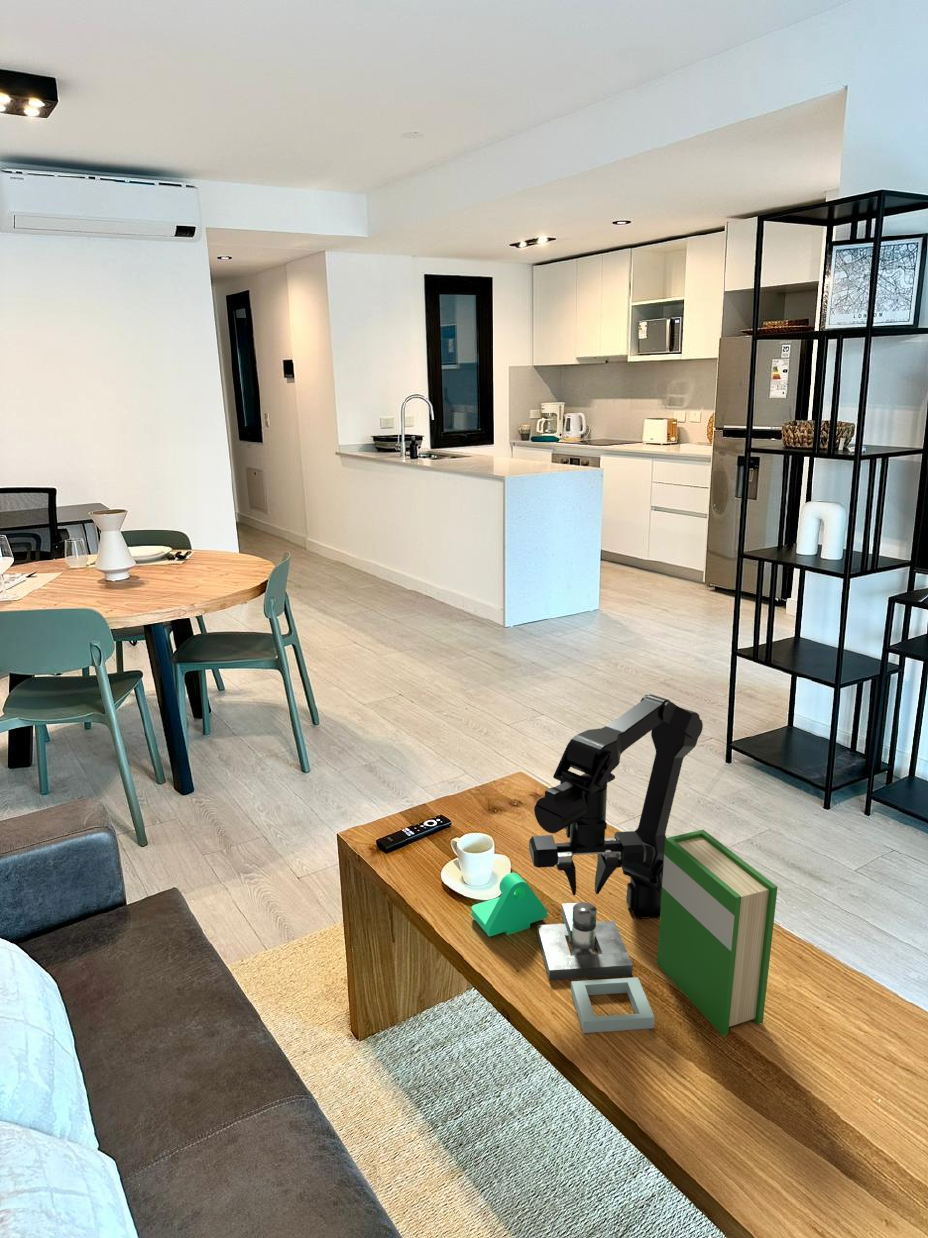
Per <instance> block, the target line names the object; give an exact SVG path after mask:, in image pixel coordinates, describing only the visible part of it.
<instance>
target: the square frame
mask: <svg viewBox="0 0 928 1238" xmlns="http://www.w3.org/2000/svg"><path fill="white" fill-rule="evenodd" d="M570 993H571V997H572V1000H573V1003H574V1007H575V1011H576V1014H577V1016H578V1017H577V1018H578V1021H579V1023H580V1027H581V1030H582V1033H583V1034H588V1033H589V1034H590V1033H605V1032H615V1031H616V1032H619V1031H633V1030H635V1031H636V1030H646V1029H655V1019H656V1018H655V1015H654V1012H653V1010H652V1008H651V1005H650V1002H649V1001H648V998H647V996H646V993H645V991H644V988H643V985H642V984H641V981H640V979H639V977H635V976H634V977H622V978H608V979H607V978H606V979H605V978H604V979H590V980H577V981H576V980H574V981H570ZM611 994H613V995H614V994H627V996H628V1000H629V1001H630V1004H631V1006H632V1010H633V1012H634V1013H627V1014H626V1013H625V1014H615V1015H614V1014H613V1015H611V1014H610V1015H598V1016H596V1015H595V1012H594V1009H593V1007H592V1006H593V1005H592V1003H591V1000H590V997H589V996H598V995H611Z"/></svg>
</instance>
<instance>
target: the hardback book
mask: <svg viewBox="0 0 928 1238" xmlns="http://www.w3.org/2000/svg"><path fill="white" fill-rule="evenodd" d="M777 895H778V885H776V884H775V883H773V881H770V879H768V878H767V877H766V876H764V875H763V874H762V873H761V872H760V871H758V870H756V869H755V868H754V867H753V866H752V865H750V864H748V863H747V862H746V861H745V860H744V859H742V858H741V857H739V856H738V855H737V854H736V853H735V852H733V850H730V849H729V848H728V847H727V846H725V845H724V844H723V843H722V842H720V841H719V840H718V839H716V838H715V837H714V836H712V835H711V834H710V833H708V832H707V831H706V830H705V829H700V830H695V831H691V832H687V833H682V834H677V835H673V836H669V837H666V838H665V850H664V865H663V880H662V895H661V910H660V917H659V926H658V943H657V957H656V965H657V966H658V967H659V968H660V969H661V970H662V972H663V973H664V974H665V975H666V976H667V977H668V978H669V979H670V980H671V981H672V983H674V984H675V985H676V987H677V988H678V989H679V990H680V991H681V992H682V993H683V995H685V996H686V998H687V999H688V1000H689V1001H690V1002H691V1003H692V1004H693V1005H694V1006H695V1007H696V1009H697V1010H698V1011H700V1013H701V1014H702V1015H703V1016H704V1017H705V1018H706V1019H707V1020H708V1022H709V1023H710V1024H711V1025H712V1026H713V1027H714V1028H715V1029H716V1031H718V1033H719V1034H720V1035H721V1036H722V1037H725V1036H728V1035H729V1029H730V1027H732V1026H736V1025H739V1024H742V1023H745V1022H748V1021H751V1020H752V1021H753V1022H754V1023H755V1024H757V1025H758V1026H759V1025H761V1024H764V1023H763V1022H764V1016H765V1007H766V996H767V988H768V978H769V969H770V961H771V960H770V959H771V951H772V941H773V934H774V933H773V932H774V924H775V915H776V907H777V906H776V904H777Z"/></svg>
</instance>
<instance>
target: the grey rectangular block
mask: <svg viewBox="0 0 928 1238" xmlns="http://www.w3.org/2000/svg"><path fill="white" fill-rule="evenodd" d="M577 903H578V902H573V903H572V902H571V903H561V918H562V921H563V924H565V925H566V929H567V932H568V935H569V940H568V941H569V942H570V944H572V918H573V906H574V905H575V904H577Z"/></svg>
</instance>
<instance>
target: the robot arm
mask: <svg viewBox="0 0 928 1238" xmlns="http://www.w3.org/2000/svg"><path fill="white" fill-rule="evenodd" d="M703 726H704V725H703V720H702V719H701V718H700V714H699V713H698V712H696V711H692V710H689V709H687V708H683V707H681V706H678V705H676V704H675V703H674V702H672V701H671V700H670V699H667V698H664V697H663V696H662V697H661V696H658V695H655V694H652V693H651V694H645V695H643V697H642V698H641V699H640V701H639V702H638V703H637V704H635V705H634V706H632V707H631V708H629V710H627V711H625V712H624V713H622V714H621V715H620V716H618V717H617V718H616V719H614V720H613V721H611V722H610V723H608V724H606V725H605V726H604V727H603V726H602V727H601V728H592V729H586V730H585V731H583V732H581V733H578V734H576V735H574V736H573V737H571V739H570V740H569V742H568V743H567V745H566V747H565V749H564V752H563V754H562V756H561V759H560V760H559V763H558V765H557V767H556V769H555V771H554V773H553V776H552V777H553V779H554V780H557V781H559V784H558V785H555V786H553V787H549V788H548V789H545V791H544V796H543V797H541V798H539V799H537V800H536V803H535V805H534V808H533V809H534V810H533V812H534V817H535V819H536V821H537V823H538V825H539V827H541V828H542V830H544V831H545V832H547V833H550V834H547V835H545V834H544V835H543V834H542V835H532V836H531V837H530V839H529V840H528V851H529V854H530V858H531V860H532V861H531V862H532V865H533V866H534V867H535V868H538V869H540V868H554V867H555V866H556V869H557V870H558V871H563V872H564V873H565V876H566V878H567V881H568V884H569V887H570V890H571V893H572V895H573V896H576V894H577V874H576V872H577V871H576V865H575V863H574V860H573V856H585V855H597V857H596V858H597V861H596V868H595V869H596V871H595V878H594V892H595V895H599V894H600V892H601V890H602V889H603V887H604V886H605V884H606V883H607V881H608V879H609V878H610V877H611V875H612V874H613V873H614V872H615V870H617V869H618V868H621V869H622V873H623V874H622V875H625V876H627V877H629V878H630V881H629V882H627V886H626V897H625V898H626V905H628V908H629V910H630V911H631V913H632V915H633V917H634V918H635V919H651V918H652V919H653V918H660V910H661V895H662V880H663V865H664V850H665V838H667V836H666V832H667V827H668V824H669V819H670V815H671V812H672V807H673V804H674V799H675V794H676V790H677V787H678V782H679V778H680V774H681V769H682V765H683V762H684V761H683V760H684V758H685V757H686V756H687V755H688V754H689V753H690V752H692V751H693V750H694V749H695V747H697V744H698V740H699V737H700V736H701V734H702V732H703V728H704V727H703ZM648 733H650V737H651V740H652V743H653V745H654V750H655V754H654V759H653V762H652V767H651V771H650V772H651V773H650V775H649V776H650V777H649V780H648V784H647V789H646V793H645V798H644V803H643V806H642V810H641V814H640V818H639V823H638V826H637V828H636V829H635V830H632V831H631V830H630V831H627V830H626V831H616V832H615V833H613V834H614V835H613V836H614V837H607V838H606V830H607V827H608V824H607V822H606V818H607V817H606V815H607V800H608V799H607V797H608V794H607V793H608V783H610V782H612V781H614V780H615V779H616V775H614V774H613V771H614V770H615V769H616V768H617V767H618V766H619V765H620V762H621V761H620V760H621V755H622V754H623V753H624V752H625V750H627V749H628V748H630V747H631V746H632V745H634V744H635V743H636V742H638V741H639V740H641V739H642V738H643V737H645V736H646V735H647V734H648ZM570 768H572V769H575V770H576V771H579V772H582V773H583V774H581V775H580V774H578V773H575V772H573V771H570ZM564 829H565V830H566V831H565V835H566V838H567V839H569V842H568V841H566V842H558V843H557V842H555V839H554V836H553V834H556V833H558V832H560V831H561V830H564Z"/></svg>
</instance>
